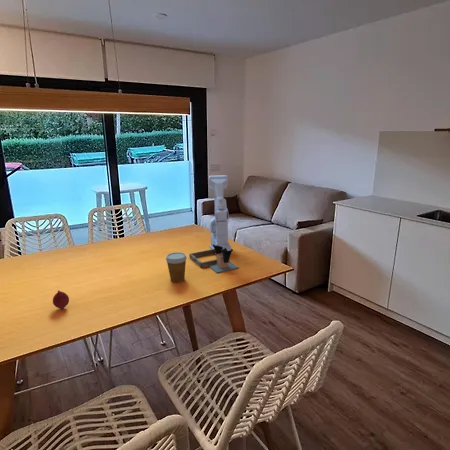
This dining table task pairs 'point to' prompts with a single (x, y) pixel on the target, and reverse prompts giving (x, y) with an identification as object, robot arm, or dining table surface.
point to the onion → (60, 299)
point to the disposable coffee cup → (176, 266)
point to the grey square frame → (203, 253)
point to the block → (221, 261)
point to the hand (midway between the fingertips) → (222, 260)
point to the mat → (219, 270)
